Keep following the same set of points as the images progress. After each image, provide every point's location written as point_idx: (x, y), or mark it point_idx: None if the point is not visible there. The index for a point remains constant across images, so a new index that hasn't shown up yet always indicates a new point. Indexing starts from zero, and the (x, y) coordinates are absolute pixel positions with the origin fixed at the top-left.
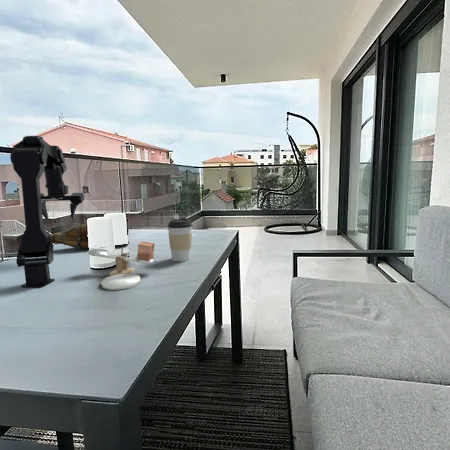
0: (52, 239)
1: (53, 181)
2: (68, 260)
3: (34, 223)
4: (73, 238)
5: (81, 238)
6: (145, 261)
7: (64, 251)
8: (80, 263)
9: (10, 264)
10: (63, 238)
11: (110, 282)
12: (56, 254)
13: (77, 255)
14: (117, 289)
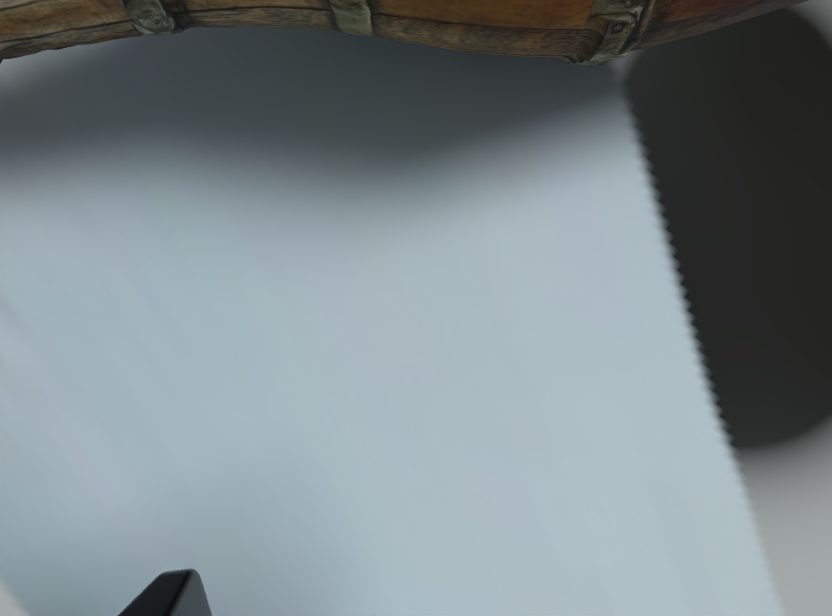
0: (170, 33)
1: None
2: (570, 490)
3: None
4: (524, 46)
5: (650, 39)
6: None
7: (353, 55)
8: (724, 608)
9: (51, 572)
10: (351, 26)
11: None
12: (323, 209)
13: (593, 291)
14: None
